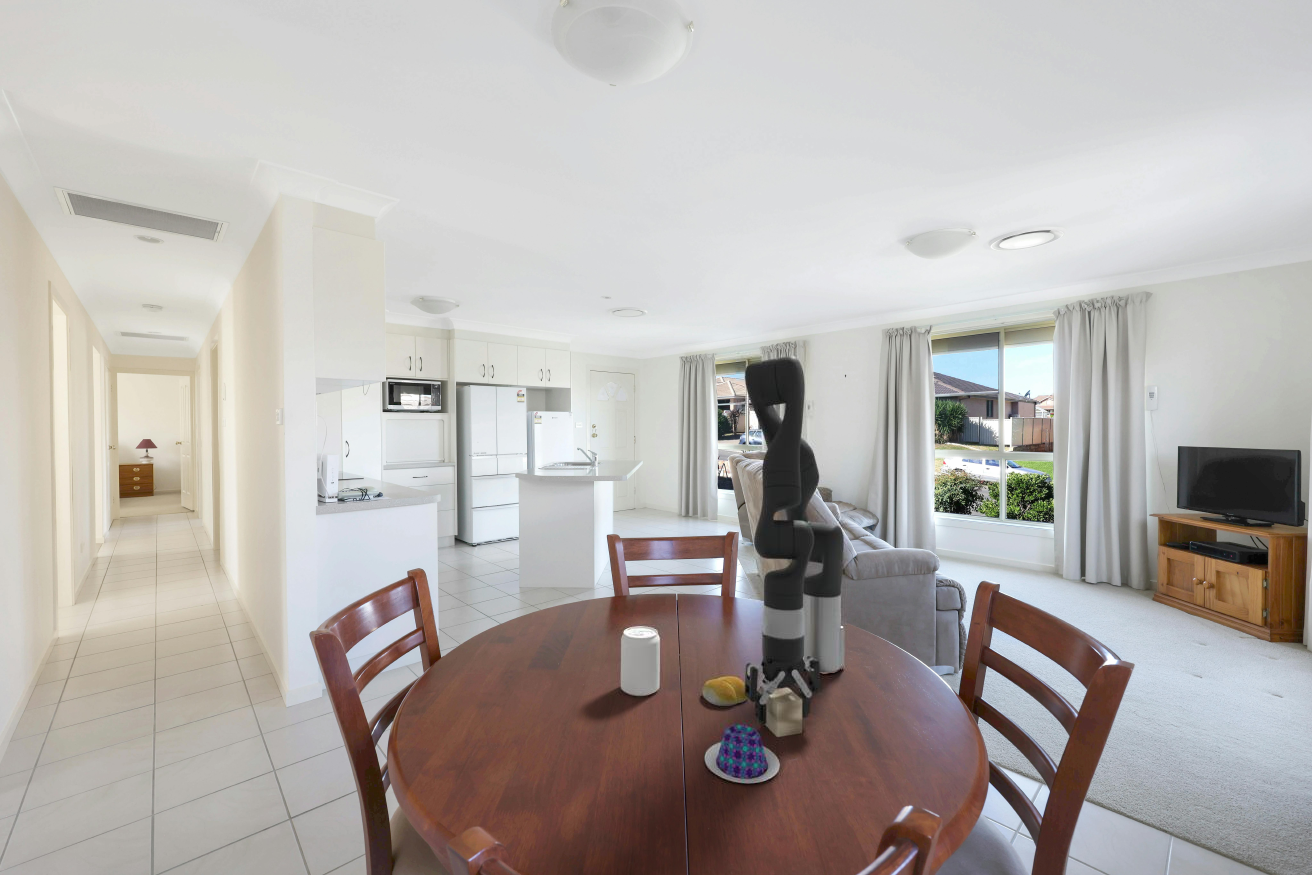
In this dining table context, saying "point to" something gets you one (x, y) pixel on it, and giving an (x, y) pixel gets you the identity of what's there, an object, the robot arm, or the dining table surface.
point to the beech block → (784, 712)
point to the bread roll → (724, 691)
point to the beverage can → (640, 661)
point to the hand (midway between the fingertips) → (782, 718)
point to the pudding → (742, 756)
